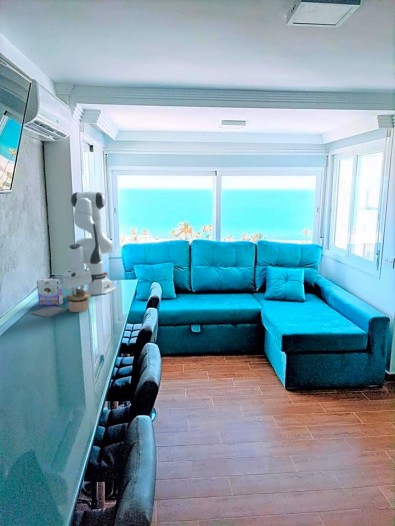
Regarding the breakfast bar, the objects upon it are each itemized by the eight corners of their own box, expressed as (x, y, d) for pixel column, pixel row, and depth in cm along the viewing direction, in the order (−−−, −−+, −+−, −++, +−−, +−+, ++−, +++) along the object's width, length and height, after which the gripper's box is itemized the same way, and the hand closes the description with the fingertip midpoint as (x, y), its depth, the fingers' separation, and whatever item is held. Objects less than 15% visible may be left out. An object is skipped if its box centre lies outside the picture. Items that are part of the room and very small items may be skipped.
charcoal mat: (51, 306, 231) (51, 305, 230) (68, 310, 223) (68, 309, 223) (30, 313, 218) (30, 312, 218) (47, 317, 211) (47, 316, 210)
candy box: (63, 303, 238) (61, 278, 235) (59, 305, 232) (57, 280, 229) (43, 302, 239) (41, 277, 236) (38, 305, 234) (36, 280, 230)
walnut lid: (79, 292, 235) (78, 285, 234) (95, 295, 228) (95, 288, 227) (61, 298, 223) (61, 291, 222) (78, 301, 216) (77, 294, 215)
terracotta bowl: (79, 305, 234) (79, 296, 233) (92, 308, 228) (91, 298, 227) (65, 310, 224) (65, 300, 223) (78, 313, 219) (78, 303, 218)
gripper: (86, 267, 232) (87, 288, 235) (59, 274, 215) (61, 296, 218) (93, 268, 229) (94, 290, 232) (67, 275, 212) (69, 298, 215)
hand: (78, 293), depth 225 cm, fingers closed on walnut lid, 3 cm apart
